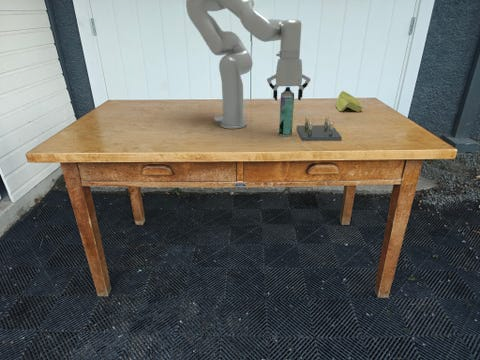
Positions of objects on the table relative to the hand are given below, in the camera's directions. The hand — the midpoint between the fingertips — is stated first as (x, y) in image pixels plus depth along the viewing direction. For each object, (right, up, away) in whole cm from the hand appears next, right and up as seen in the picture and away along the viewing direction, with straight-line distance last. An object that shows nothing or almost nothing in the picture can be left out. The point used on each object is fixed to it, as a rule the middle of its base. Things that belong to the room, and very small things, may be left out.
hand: (287, 99), depth 131 cm
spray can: (0, -13, +7) cm, 15 cm away
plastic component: (+41, +7, +46) cm, 61 cm away
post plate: (+14, -13, +7) cm, 20 cm away
